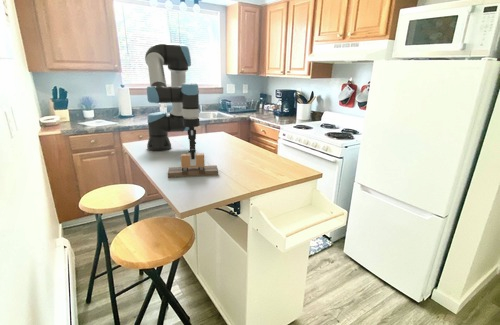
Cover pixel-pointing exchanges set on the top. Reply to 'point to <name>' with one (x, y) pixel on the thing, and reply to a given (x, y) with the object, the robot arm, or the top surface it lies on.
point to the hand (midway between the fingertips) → (192, 161)
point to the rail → (192, 171)
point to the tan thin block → (186, 161)
